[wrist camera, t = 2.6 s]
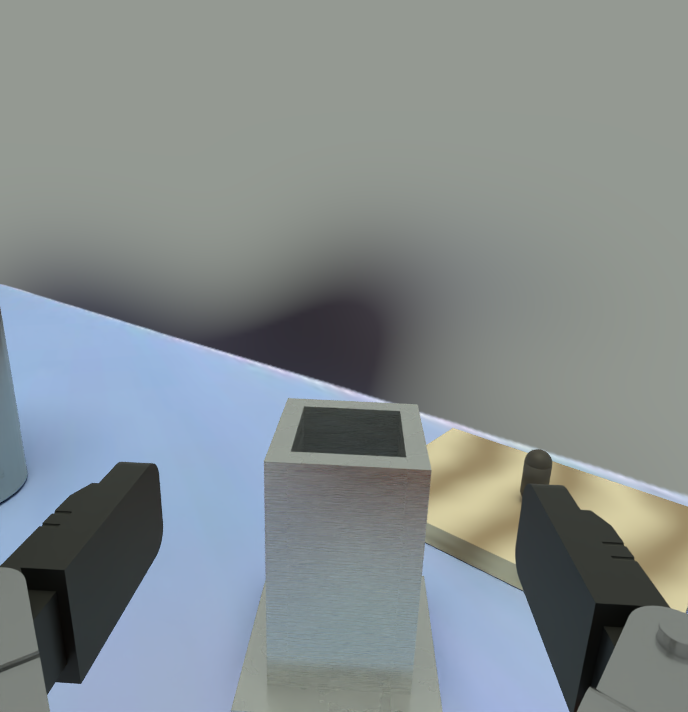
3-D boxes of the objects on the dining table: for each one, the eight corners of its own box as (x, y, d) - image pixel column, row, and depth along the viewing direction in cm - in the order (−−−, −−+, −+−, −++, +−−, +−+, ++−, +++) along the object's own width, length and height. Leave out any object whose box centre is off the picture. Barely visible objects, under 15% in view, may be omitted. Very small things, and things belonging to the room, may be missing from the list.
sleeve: (231, 724, 23) (221, 477, 20) (269, 578, 32) (266, 387, 28) (442, 738, 23) (472, 490, 19) (422, 587, 31) (440, 395, 28)
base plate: (356, 508, 39) (359, 438, 37) (451, 443, 49) (457, 386, 48) (670, 663, 27) (696, 572, 25) (709, 534, 37) (729, 463, 36)
